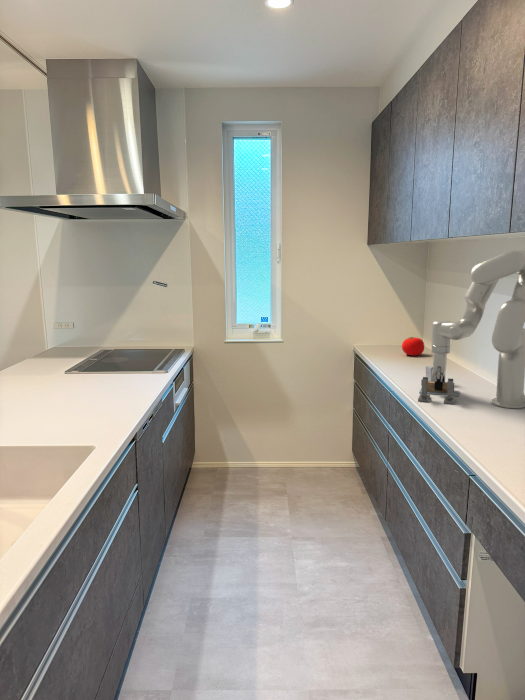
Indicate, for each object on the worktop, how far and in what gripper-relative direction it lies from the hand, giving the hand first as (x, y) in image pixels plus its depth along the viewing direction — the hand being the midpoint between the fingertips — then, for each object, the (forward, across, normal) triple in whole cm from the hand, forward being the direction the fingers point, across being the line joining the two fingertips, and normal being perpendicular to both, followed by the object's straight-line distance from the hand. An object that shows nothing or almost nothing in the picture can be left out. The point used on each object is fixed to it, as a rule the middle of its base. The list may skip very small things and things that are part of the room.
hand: (439, 387), depth 210 cm
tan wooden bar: (+2, 0, 0) cm, 2 cm away
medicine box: (+2, -16, -3) cm, 16 cm away
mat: (+2, 0, 0) cm, 2 cm away
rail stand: (+2, +13, 0) cm, 13 cm away
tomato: (+2, -86, -22) cm, 89 cm away
